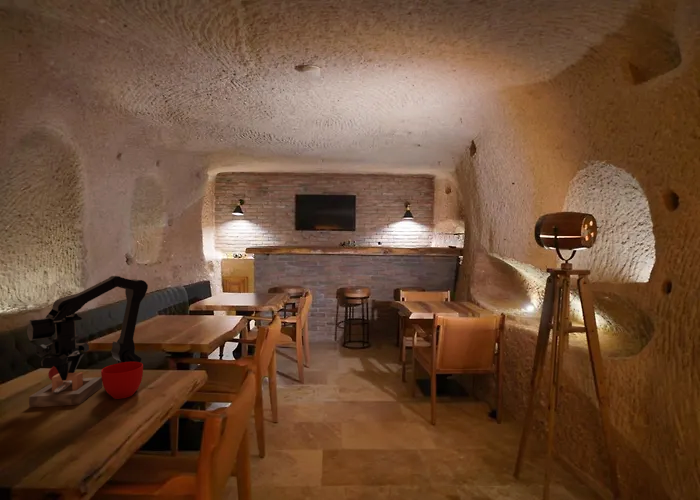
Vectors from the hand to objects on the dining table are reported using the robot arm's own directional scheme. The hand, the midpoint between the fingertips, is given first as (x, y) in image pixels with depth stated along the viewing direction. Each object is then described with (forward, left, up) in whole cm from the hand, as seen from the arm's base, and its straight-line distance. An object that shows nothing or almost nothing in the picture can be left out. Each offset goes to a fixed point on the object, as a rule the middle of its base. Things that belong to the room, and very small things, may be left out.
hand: (67, 378), depth 141 cm
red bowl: (-20, 0, -7) cm, 21 cm away
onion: (+11, -15, -7) cm, 20 cm away
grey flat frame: (0, 0, -7) cm, 7 cm away
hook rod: (0, 0, -3) cm, 3 cm away
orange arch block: (0, 0, -4) cm, 4 cm away
